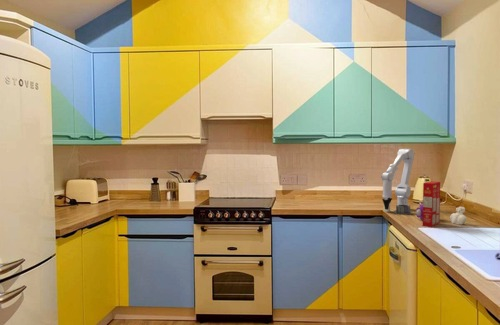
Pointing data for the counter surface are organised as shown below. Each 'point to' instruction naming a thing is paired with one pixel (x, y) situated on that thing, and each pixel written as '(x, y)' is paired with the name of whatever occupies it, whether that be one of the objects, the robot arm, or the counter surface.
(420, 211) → the toy camera
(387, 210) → the plug
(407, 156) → the robot arm
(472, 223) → the counter surface
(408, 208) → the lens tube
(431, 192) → the food packaging
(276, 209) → the counter surface
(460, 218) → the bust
